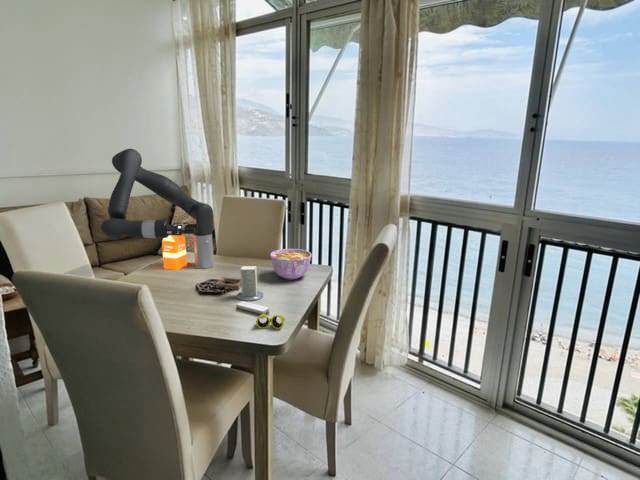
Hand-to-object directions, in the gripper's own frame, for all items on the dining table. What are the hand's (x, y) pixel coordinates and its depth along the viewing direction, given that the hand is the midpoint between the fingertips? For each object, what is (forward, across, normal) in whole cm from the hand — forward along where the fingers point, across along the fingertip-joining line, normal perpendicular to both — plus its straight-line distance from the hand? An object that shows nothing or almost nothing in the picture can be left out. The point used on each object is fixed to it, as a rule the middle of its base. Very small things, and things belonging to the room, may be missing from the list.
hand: (196, 228), depth 165 cm
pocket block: (+13, +6, +28) cm, 31 cm away
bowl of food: (+41, +16, +28) cm, 52 cm away
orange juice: (-17, +37, +28) cm, 49 cm away
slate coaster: (+22, -8, +28) cm, 36 cm away
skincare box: (+22, -8, +28) cm, 36 cm away
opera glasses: (+30, -36, +28) cm, 55 cm away
